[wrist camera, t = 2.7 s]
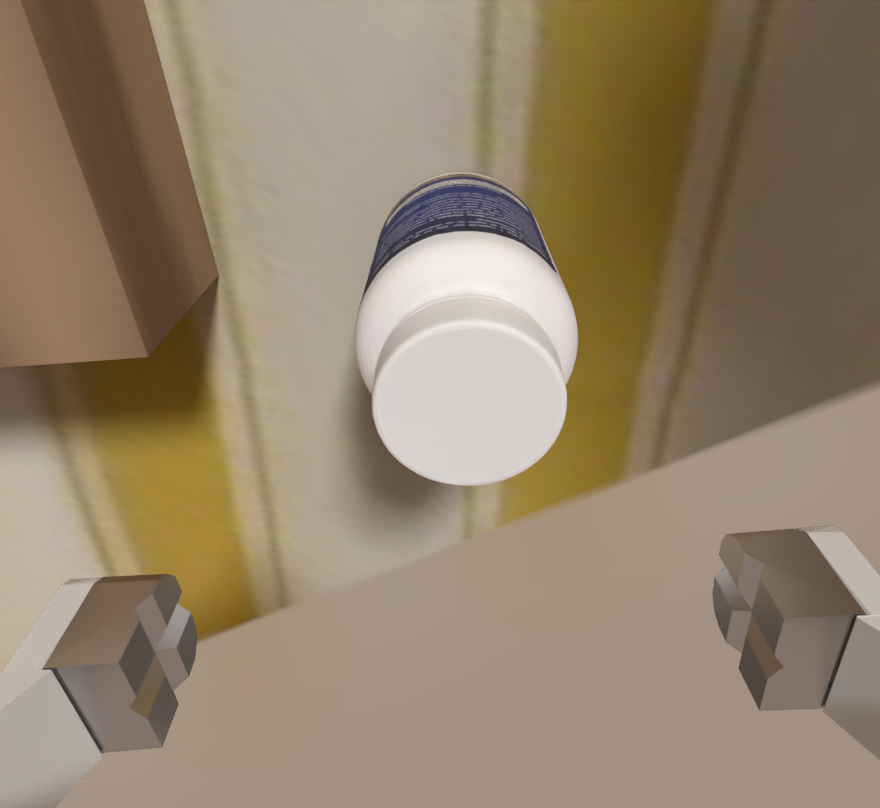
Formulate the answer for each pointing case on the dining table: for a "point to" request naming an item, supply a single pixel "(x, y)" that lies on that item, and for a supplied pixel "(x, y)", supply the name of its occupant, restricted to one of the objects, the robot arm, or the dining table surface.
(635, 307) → the dining table surface
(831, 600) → the robot arm
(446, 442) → the pill bottle
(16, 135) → the walnut riser
